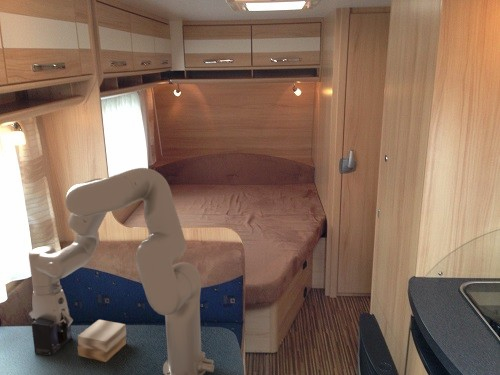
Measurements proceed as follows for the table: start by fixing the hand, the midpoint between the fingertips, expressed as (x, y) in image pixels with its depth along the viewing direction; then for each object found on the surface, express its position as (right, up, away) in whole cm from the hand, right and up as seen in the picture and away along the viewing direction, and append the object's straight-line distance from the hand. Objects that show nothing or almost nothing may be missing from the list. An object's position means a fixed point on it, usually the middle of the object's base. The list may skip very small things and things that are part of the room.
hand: (53, 339), depth 137 cm
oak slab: (+16, -3, -2) cm, 17 cm away
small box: (0, -2, +1) cm, 3 cm away
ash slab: (+16, 0, -3) cm, 17 cm away
